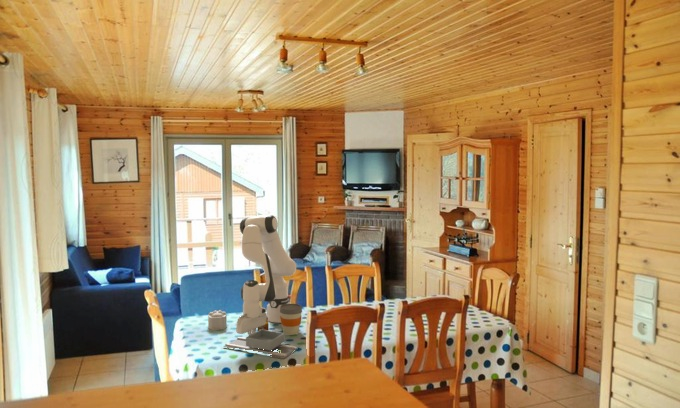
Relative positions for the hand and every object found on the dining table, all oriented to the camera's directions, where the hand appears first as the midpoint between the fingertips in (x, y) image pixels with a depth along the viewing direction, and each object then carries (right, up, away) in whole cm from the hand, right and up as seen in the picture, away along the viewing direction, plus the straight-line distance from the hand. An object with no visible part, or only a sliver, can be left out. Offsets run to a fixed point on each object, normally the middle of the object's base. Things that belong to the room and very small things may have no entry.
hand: (251, 337), depth 296 cm
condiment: (+3, -4, +15) cm, 15 cm away
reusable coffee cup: (+19, -3, +24) cm, 31 cm away
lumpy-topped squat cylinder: (-25, -2, +34) cm, 42 cm away
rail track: (+5, -5, -1) cm, 8 cm away
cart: (+8, -4, -3) cm, 9 cm away
